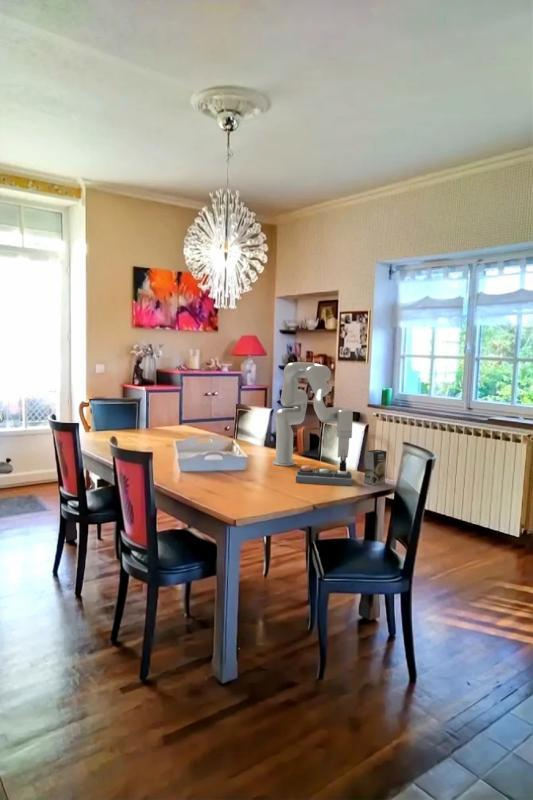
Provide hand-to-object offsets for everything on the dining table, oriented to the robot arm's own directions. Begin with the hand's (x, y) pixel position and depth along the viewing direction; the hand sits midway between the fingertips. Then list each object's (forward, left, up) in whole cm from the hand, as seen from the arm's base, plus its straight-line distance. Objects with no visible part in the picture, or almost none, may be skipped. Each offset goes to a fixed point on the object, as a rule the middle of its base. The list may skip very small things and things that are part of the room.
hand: (342, 470), depth 263 cm
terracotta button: (0, -18, -1) cm, 18 cm away
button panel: (0, -9, -6) cm, 11 cm away
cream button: (0, 0, -2) cm, 2 cm away
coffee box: (-2, +16, -6) cm, 17 cm away
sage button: (0, -9, -2) cm, 9 cm away
